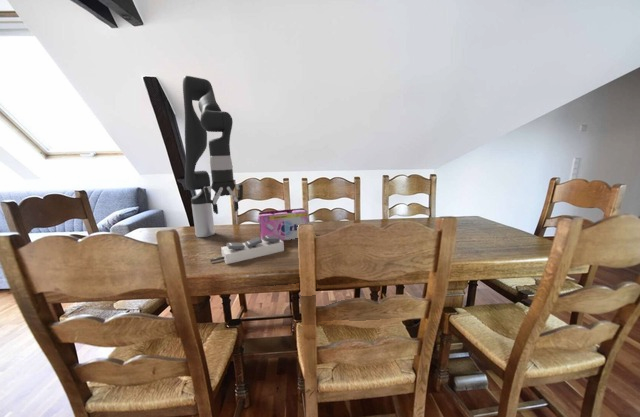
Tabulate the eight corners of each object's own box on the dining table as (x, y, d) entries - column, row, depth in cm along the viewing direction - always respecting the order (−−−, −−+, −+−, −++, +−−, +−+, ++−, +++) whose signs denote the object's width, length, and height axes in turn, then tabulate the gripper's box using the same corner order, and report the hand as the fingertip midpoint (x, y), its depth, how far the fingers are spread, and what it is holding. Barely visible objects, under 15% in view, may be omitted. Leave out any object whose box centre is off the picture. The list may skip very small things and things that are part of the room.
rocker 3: (262, 238, 109) (262, 235, 109) (275, 238, 112) (275, 235, 112) (266, 241, 105) (266, 238, 105) (279, 241, 108) (279, 238, 108)
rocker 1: (226, 245, 102) (226, 242, 101) (241, 245, 105) (241, 242, 105) (228, 249, 98) (229, 245, 98) (244, 248, 101) (244, 245, 101)
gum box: (260, 244, 119) (257, 216, 116) (258, 238, 126) (256, 212, 123) (308, 237, 126) (307, 211, 123) (304, 232, 134) (303, 207, 130)
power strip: (209, 259, 103) (207, 247, 102) (276, 244, 117) (275, 234, 116) (212, 267, 95) (211, 255, 94) (284, 250, 110) (283, 240, 109)
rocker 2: (245, 244, 106) (244, 241, 105) (258, 239, 108) (258, 236, 108) (248, 248, 102) (247, 245, 101) (262, 242, 104) (261, 239, 104)
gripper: (238, 167, 100) (242, 208, 104) (199, 168, 93) (204, 213, 96) (244, 167, 94) (247, 211, 97) (201, 170, 86) (207, 217, 90)
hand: (226, 212), depth 97 cm, fingers open, 6 cm apart
